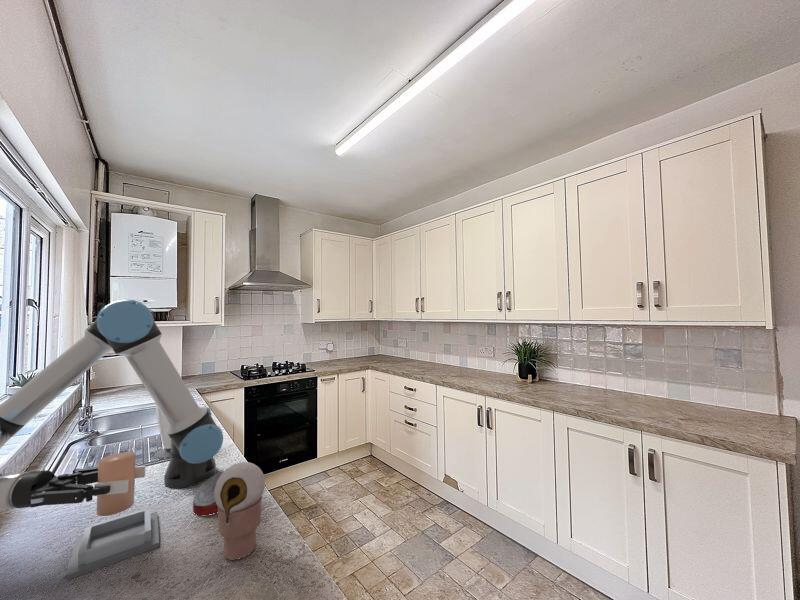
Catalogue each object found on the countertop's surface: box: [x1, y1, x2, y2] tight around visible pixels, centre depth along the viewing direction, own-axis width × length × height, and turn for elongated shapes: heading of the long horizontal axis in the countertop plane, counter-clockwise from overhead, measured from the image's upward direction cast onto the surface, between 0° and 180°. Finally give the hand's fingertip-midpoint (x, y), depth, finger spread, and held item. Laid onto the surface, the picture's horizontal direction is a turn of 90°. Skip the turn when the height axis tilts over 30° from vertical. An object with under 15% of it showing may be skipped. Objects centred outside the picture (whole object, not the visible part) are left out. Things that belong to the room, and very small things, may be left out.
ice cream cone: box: [214, 461, 266, 561], centre depth 78 cm, size 11×11×20 cm
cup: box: [153, 402, 171, 459], centre depth 136 cm, size 12×12×22 cm
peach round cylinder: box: [96, 451, 137, 517], centre depth 81 cm, size 7×7×12 cm
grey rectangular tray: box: [65, 507, 160, 581], centre depth 81 cm, size 16×16×4 cm
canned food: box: [192, 471, 224, 515], centre depth 96 cm, size 11×10×10 cm
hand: (136, 478), depth 82 cm, fingers closed on peach round cylinder, 7 cm apart
